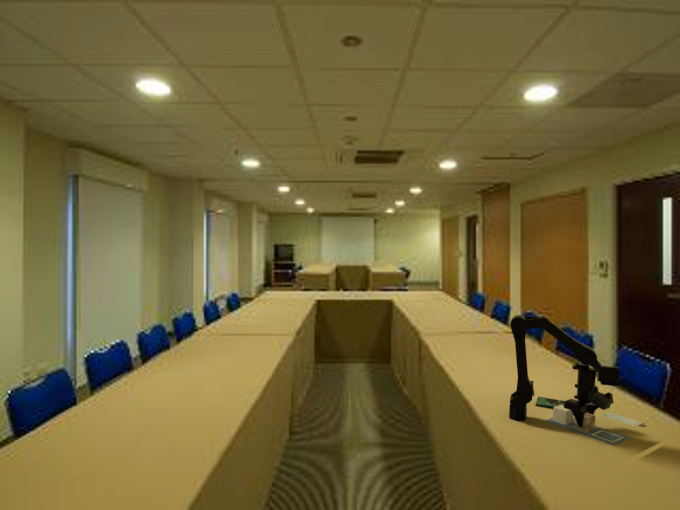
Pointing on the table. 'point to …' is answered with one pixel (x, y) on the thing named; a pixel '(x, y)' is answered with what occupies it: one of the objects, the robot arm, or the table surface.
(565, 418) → the cream cube
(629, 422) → the hard drive
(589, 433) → the board
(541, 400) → the disk drive
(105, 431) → the table surface
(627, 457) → the table surface
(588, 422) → the maple cube
